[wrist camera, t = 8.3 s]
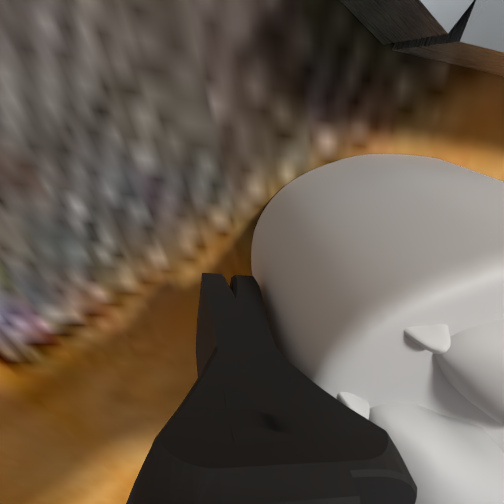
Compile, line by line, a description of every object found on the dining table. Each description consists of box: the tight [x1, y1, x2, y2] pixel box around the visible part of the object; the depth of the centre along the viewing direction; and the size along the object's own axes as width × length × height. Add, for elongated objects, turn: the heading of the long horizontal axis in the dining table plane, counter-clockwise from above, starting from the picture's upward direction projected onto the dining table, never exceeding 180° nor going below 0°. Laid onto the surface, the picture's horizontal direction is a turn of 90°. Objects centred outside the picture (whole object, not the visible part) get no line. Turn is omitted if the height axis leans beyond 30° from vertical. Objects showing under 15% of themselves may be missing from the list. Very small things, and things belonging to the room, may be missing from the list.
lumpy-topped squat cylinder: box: [251, 154, 504, 504], centre depth 10 cm, size 10×13×9 cm
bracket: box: [340, 0, 504, 76], centre depth 13 cm, size 21×14×4 cm, turn 170°
